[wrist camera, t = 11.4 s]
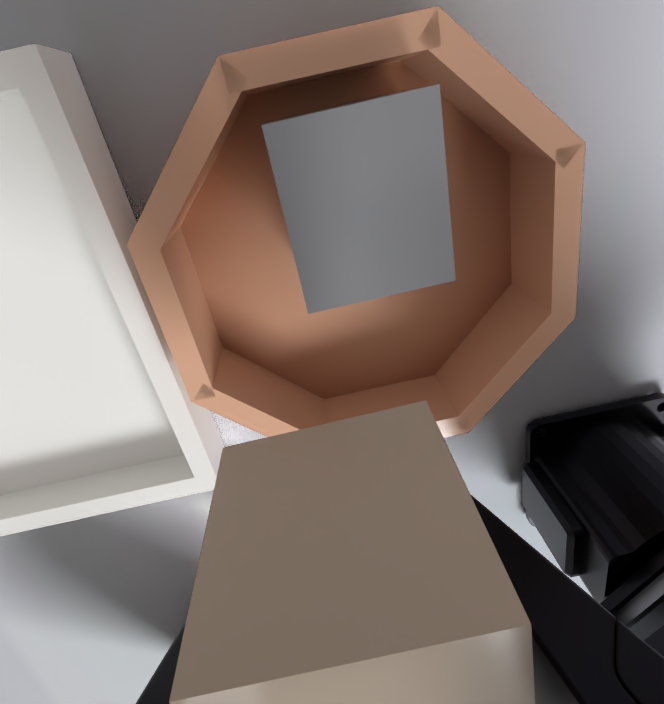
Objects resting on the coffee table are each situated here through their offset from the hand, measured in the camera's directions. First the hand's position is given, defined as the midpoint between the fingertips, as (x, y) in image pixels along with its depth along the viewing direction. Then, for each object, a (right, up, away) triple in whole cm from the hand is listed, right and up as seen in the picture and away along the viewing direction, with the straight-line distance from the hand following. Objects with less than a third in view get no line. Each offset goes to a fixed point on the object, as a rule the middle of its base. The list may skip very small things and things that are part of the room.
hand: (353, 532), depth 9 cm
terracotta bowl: (0, +7, +7) cm, 10 cm away
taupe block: (0, 0, +1) cm, 1 cm away
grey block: (0, +9, +6) cm, 11 cm away
